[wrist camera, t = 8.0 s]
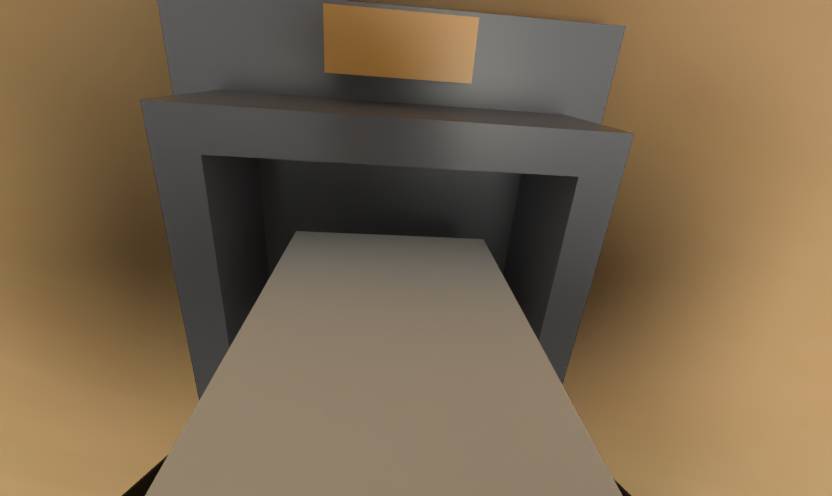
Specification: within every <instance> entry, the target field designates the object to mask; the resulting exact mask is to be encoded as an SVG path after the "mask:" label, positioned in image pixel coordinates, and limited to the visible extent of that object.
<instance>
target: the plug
mask: <svg viewBox="0 0 832 496" xmlns="http://www.w3.org/2000/svg"><path fill="white" fill-rule="evenodd" d="M145 496H622V494H621V492H620V490H619V488H618V486H617V484H616V483H615V481H614V479H613V477H612V475H611V473H610V472H609V470H608V468H607V466H606V464H605V462H604V461H603V459H602V457H601V455H600V453H599V451H598V449H597V448H596V446H595V444H594V442H593V440H592V438H591V437H590V435H589V433H588V431H587V429H586V427H585V426H584V424H583V422H582V420H581V418H580V416H579V414H578V413H577V411H576V409H575V407H574V405H573V403H572V402H571V400H570V398H569V396H568V394H567V392H566V391H565V389H564V387H563V385H562V383H561V381H560V379H559V378H558V376H557V374H556V372H555V370H554V368H553V367H552V365H551V363H550V361H549V359H548V357H547V356H546V354H545V352H544V350H543V348H542V346H541V344H540V343H539V341H538V339H537V337H536V335H535V333H534V332H533V330H532V328H531V326H530V324H529V322H528V321H527V319H526V317H525V315H524V313H523V311H522V309H521V308H520V306H519V304H518V302H517V300H516V298H515V297H514V295H513V293H512V291H511V289H510V287H509V286H508V284H507V282H506V280H505V278H504V276H503V274H502V273H501V271H500V269H499V267H498V265H497V263H496V262H495V260H494V258H493V256H492V254H491V252H490V251H489V249H488V247H487V245H486V243H485V241H484V239H469V238H446V237H423V236H400V235H377V234H354V233H331V232H307V231H296V232H295V234H294V236H293V238H292V239H291V241H290V243H289V245H288V246H287V248H286V250H285V252H284V253H283V255H282V257H281V259H280V260H279V262H278V264H277V266H276V267H275V269H274V271H273V273H272V274H271V276H270V278H269V280H268V281H267V283H266V285H265V287H264V288H263V290H262V292H261V294H260V295H259V297H258V299H257V301H256V302H255V304H254V306H253V308H252V309H251V311H250V313H249V315H248V316H247V318H246V320H245V321H244V323H243V325H242V327H241V329H240V330H239V332H238V334H237V335H236V337H235V339H234V341H233V342H232V344H231V346H230V348H229V349H228V351H227V353H226V355H225V356H224V358H223V360H222V362H221V363H220V365H219V367H218V369H217V370H216V372H215V374H214V376H213V377H212V379H211V381H210V383H209V384H208V386H207V388H206V390H205V391H204V393H203V395H202V397H201V398H200V400H199V402H198V404H197V405H196V407H195V409H194V411H193V412H192V414H191V416H190V418H189V419H188V421H187V423H186V425H185V426H184V428H183V430H182V432H181V433H180V435H179V437H178V439H177V440H176V442H175V444H174V446H173V447H172V449H171V451H170V453H169V454H168V456H167V458H166V460H165V461H164V463H163V465H162V467H161V468H160V470H159V472H158V474H157V475H156V477H155V479H154V481H153V482H152V484H151V486H150V488H149V489H148V491H147V493H146V495H145Z"/></svg>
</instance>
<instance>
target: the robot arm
mask: <svg viewBox="0 0 832 496" xmlns="http://www.w3.org/2000/svg"><path fill="white" fill-rule="evenodd" d="M167 456H168V455H167ZM167 456H166V457H165V458H164V459H163V460H162V461H160V462H159V463H158V464H157V465H156V466H155V467H154V468H152V469H151V470H150V471H149V472H148V473H147V474H146V475H145V476H143V477H142V478H141V479H140V480H139V481H138V482H137V483H136V484H134V485H133V486H132V487H131V488H130V489H129V490H128V491H127V492H125V493H124V494H123V495H122V496H145V495H146V493H147V491H148V489H149V488H150V486H151V484H152V482H153V481H154V479H155V477H156V475H157V474H158V472H159V470H160V468H161V467H162V465H163V463H164V461H165V460H166V458H167ZM614 481H615V480H614ZM615 483H616V484H617V486H618V488H619V490H620V492H621V494H622V496H631V495H630V494H629V493H628V492H627V491H626V490H625V489H624V488H623V487H622V486H621V485H620V484H619V483H618V482H616V481H615Z"/></svg>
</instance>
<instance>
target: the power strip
mask: <svg viewBox="0 0 832 496" xmlns="http://www.w3.org/2000/svg"><path fill="white" fill-rule="evenodd" d="M157 1H158V7H159V13H160V20H161V26H162V32H163V38H164V44H165V50H166V56H167V62H168V68H169V74H170V80H171V86H172V92H173V96H165V97H158V98H151V99H143V100H140V103H141V108H142V113H143V118H144V123H145V128H146V133H147V138H148V143H149V148H150V153H151V158H152V164H153V169H154V174H155V179H156V184H157V189H158V194H159V199H160V204H161V209H162V214H163V219H164V224H165V229H166V235H167V240H168V245H169V250H170V255H171V260H172V265H173V270H174V275H175V280H176V285H177V290H178V295H179V301H180V306H181V311H182V316H183V321H184V326H185V331H186V336H187V341H188V346H189V351H190V356H191V361H192V366H193V372H194V377H195V382H196V387H197V392H198V397H199V400H200V398H201V397H202V395H203V393H204V391H205V390H206V388H207V386H208V384H209V383H210V381H211V379H212V377H213V376H214V374H215V372H216V370H217V369H218V367H219V365H220V363H221V362H222V360H223V358H224V356H225V355H226V353H227V351H228V349H229V348H230V346H231V344H232V342H233V341H234V339H235V337H236V335H237V334H238V332H239V330H240V329H241V327H242V325H243V323H244V321H245V320H246V318H247V316H248V315H249V313H250V311H251V309H252V308H253V306H254V304H255V302H256V301H257V299H258V297H259V295H260V294H261V292H262V290H263V288H264V287H265V285H266V283H267V281H268V280H269V278H270V276H271V274H272V273H273V271H274V269H275V267H276V266H277V264H278V262H279V260H280V259H281V257H282V255H283V253H284V252H285V250H286V248H287V246H288V245H289V243H290V241H291V239H292V238H293V236H294V234H295V232H296V231H307V232H331V233H354V234H377V235H400V236H423V237H446V238H469V239H484V241H485V243H486V245H487V247H488V249H489V251H490V252H491V254H492V256H493V258H494V260H495V262H496V263H497V265H498V267H499V269H500V271H501V273H502V274H503V276H504V278H505V280H506V282H507V284H508V286H509V287H510V289H511V291H512V293H513V295H514V297H515V298H516V300H517V302H518V304H519V306H520V308H521V309H522V311H523V313H524V315H525V317H526V319H527V321H528V322H529V324H530V326H531V328H532V330H533V332H534V333H535V335H536V337H537V339H538V341H539V343H540V344H541V346H542V348H543V350H544V352H545V354H546V356H547V357H548V359H549V361H550V363H551V365H552V367H553V368H554V370H555V372H556V374H557V376H558V378H559V379H560V381H561V383H562V384H563V380H564V377H565V373H566V370H567V366H568V363H569V360H570V356H571V353H572V349H573V346H574V342H575V339H576V335H577V332H578V328H579V325H580V321H581V318H582V314H583V311H584V307H585V304H586V300H587V297H588V293H589V290H590V286H591V283H592V279H593V276H594V272H595V269H596V265H597V262H598V258H599V255H600V251H601V248H602V244H603V241H604V237H605V234H606V231H607V227H608V224H609V220H610V217H611V213H612V210H613V206H614V203H615V199H616V196H617V192H618V189H619V185H620V182H621V178H622V175H623V171H624V168H625V164H626V161H627V157H628V154H629V150H630V147H631V143H632V140H633V136H634V134H633V133H629V132H626V131H622V130H619V129H615V128H611V127H608V126H604V125H601V123H602V119H603V115H604V111H605V107H606V103H607V99H608V95H609V91H610V87H611V83H612V79H613V75H614V71H615V67H616V63H617V59H618V55H619V51H620V47H621V43H622V39H623V35H624V31H625V27H626V26H618V25H607V24H597V23H586V22H575V21H564V20H553V19H542V18H532V17H521V16H510V15H499V14H488V13H477V12H466V11H456V10H445V9H434V8H423V7H412V6H401V5H391V4H380V3H369V2H358V1H347V0H157Z"/></svg>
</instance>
